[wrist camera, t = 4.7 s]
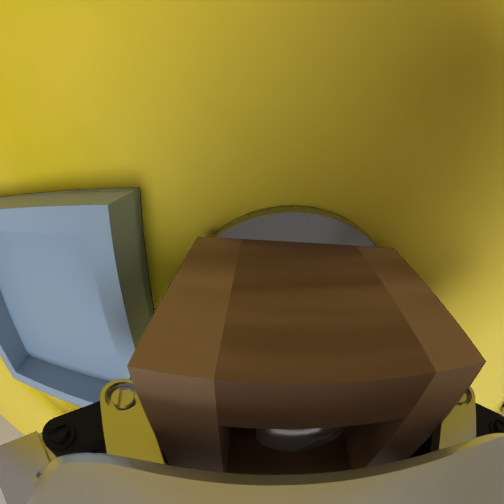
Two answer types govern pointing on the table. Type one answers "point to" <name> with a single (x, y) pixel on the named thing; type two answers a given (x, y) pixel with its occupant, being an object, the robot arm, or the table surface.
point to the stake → (296, 230)
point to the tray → (72, 289)
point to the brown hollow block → (298, 357)
